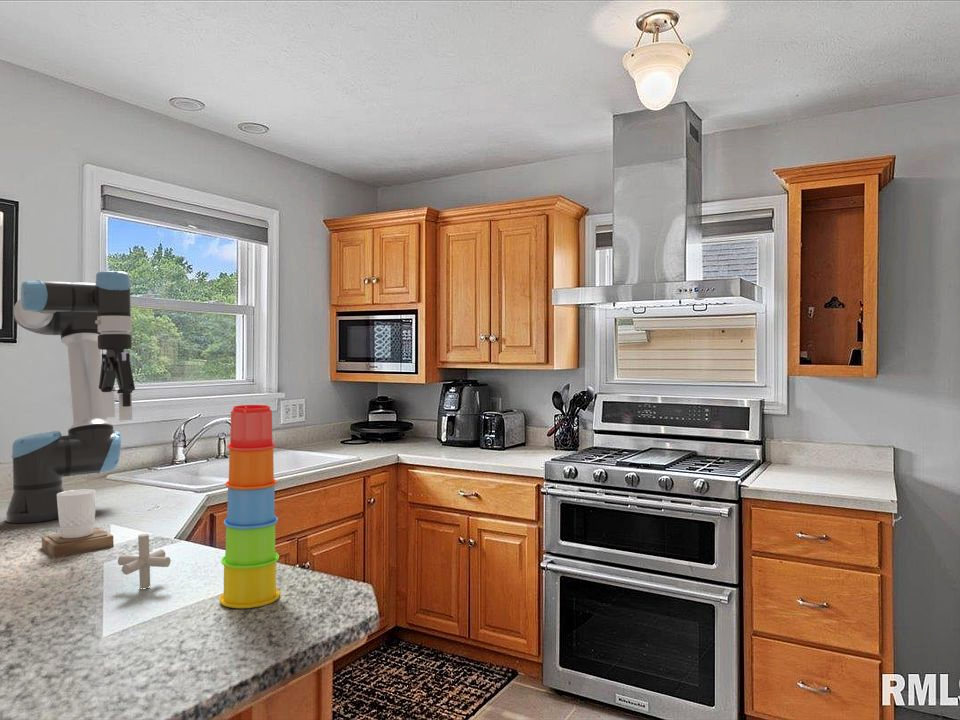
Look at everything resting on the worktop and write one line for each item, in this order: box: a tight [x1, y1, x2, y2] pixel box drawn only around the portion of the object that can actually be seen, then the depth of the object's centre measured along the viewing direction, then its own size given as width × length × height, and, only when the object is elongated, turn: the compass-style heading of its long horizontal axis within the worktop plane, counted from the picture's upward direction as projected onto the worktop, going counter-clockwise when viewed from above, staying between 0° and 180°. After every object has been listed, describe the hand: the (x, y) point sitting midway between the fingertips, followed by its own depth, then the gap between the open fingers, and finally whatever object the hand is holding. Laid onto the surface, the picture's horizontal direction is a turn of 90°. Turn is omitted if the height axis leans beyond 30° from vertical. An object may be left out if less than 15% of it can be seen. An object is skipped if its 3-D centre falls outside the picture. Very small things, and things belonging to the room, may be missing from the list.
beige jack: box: [117, 533, 172, 590], centre depth 133 cm, size 10×10×10 cm
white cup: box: [57, 488, 97, 538], centre depth 163 cm, size 8×8×10 cm
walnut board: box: [41, 526, 115, 559], centre depth 163 cm, size 12×12×3 cm
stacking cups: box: [218, 404, 281, 609], centre depth 125 cm, size 10×10×35 cm
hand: (117, 418), depth 175 cm, fingers open, 13 cm apart
